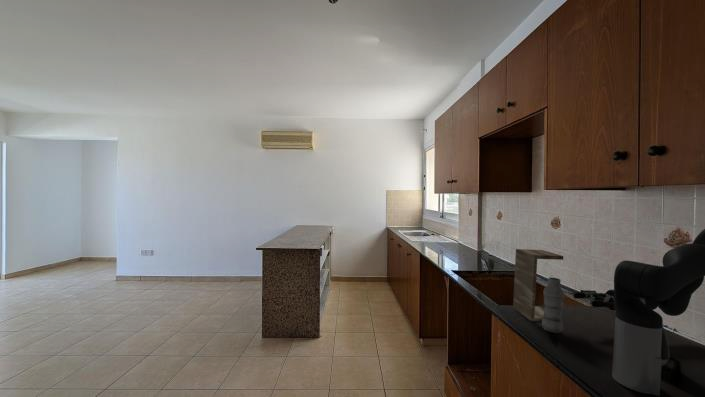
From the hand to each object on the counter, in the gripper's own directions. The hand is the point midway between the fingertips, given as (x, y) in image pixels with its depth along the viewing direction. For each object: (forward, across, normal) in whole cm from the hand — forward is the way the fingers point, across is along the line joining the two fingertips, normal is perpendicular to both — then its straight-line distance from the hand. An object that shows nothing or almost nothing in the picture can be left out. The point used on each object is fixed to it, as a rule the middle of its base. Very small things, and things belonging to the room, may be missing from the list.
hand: (582, 299), depth 112 cm
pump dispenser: (-4, +20, +13) cm, 24 cm away
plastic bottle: (+12, 0, +13) cm, 17 cm away
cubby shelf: (+8, -16, +12) cm, 21 cm away
